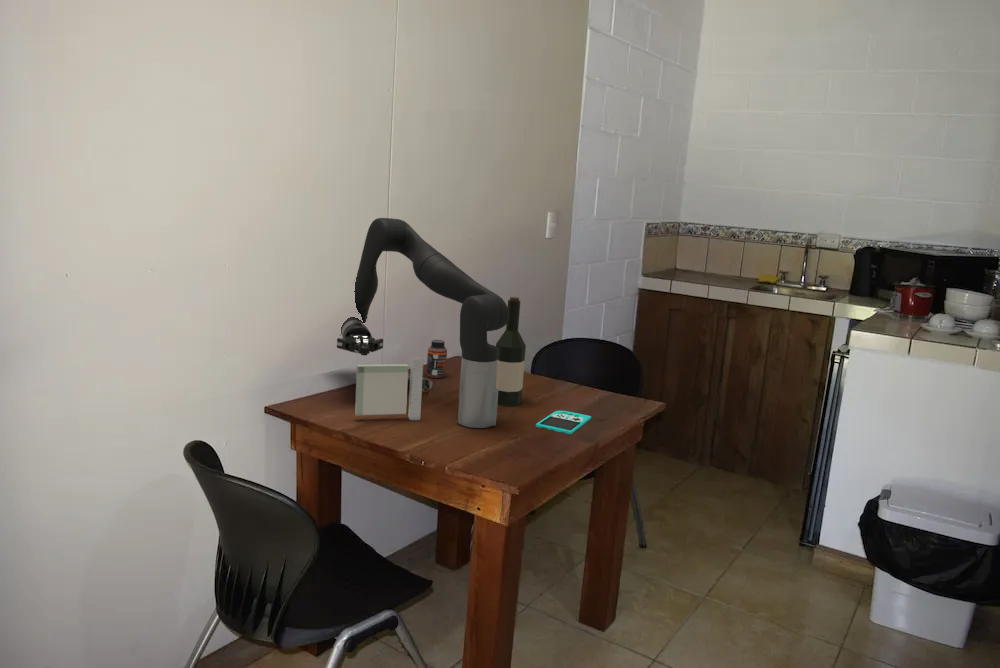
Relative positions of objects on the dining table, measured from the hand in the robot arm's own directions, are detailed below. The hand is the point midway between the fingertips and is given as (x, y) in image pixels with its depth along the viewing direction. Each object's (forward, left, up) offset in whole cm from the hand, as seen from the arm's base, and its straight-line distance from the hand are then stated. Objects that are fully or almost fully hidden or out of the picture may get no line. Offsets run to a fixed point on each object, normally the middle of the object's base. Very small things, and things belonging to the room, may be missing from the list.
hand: (364, 351), depth 200 cm
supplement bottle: (-27, -32, -16) cm, 45 cm away
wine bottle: (-41, -4, -16) cm, 44 cm away
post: (-12, +8, -16) cm, 21 cm away
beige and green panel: (-3, +8, -14) cm, 17 cm away
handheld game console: (-51, +15, -17) cm, 56 cm away
